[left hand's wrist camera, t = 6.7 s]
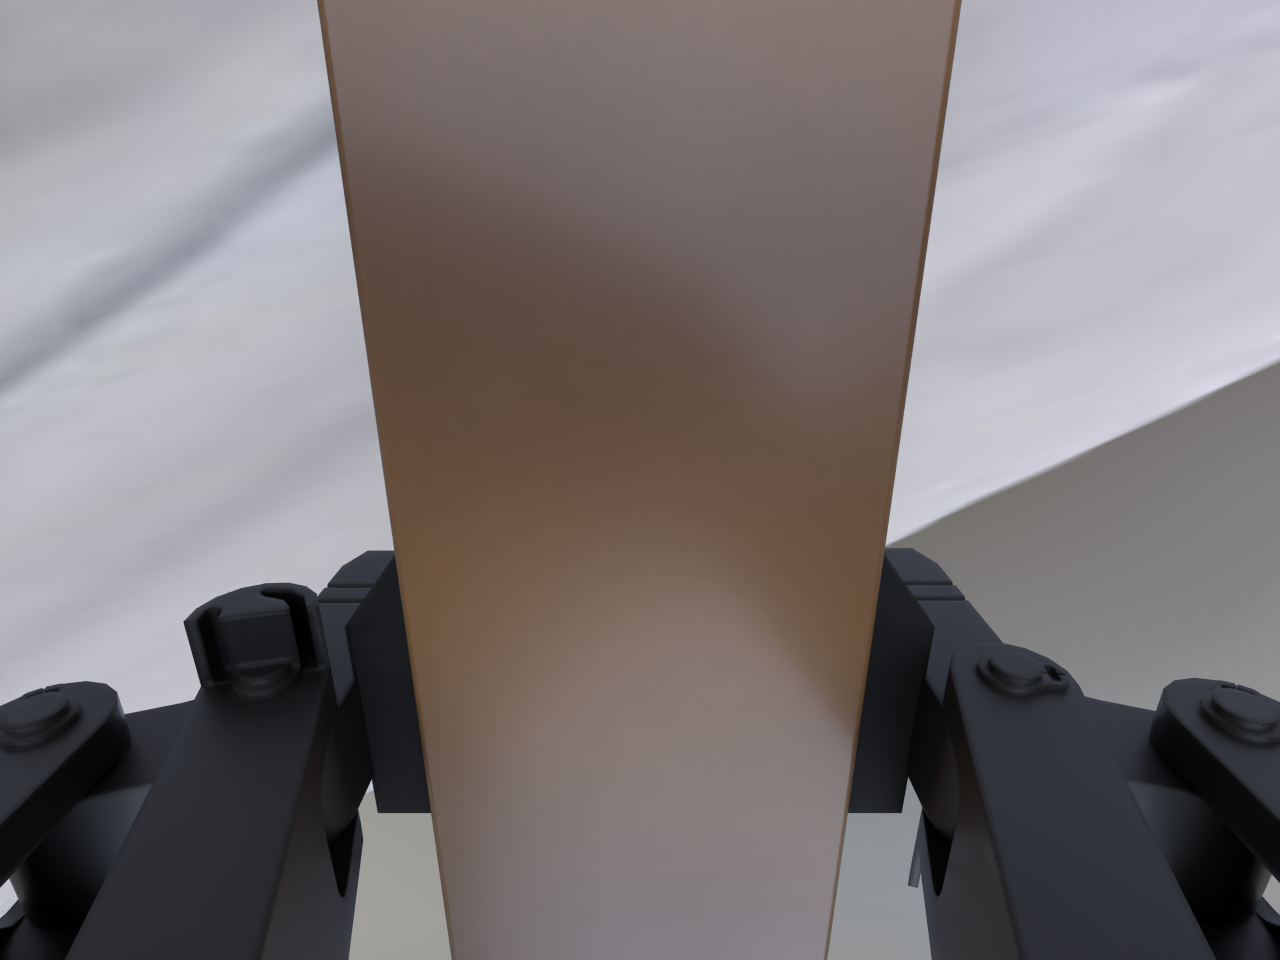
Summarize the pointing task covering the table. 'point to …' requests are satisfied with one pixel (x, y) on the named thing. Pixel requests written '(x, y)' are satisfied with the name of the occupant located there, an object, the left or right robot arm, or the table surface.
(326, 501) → the table surface
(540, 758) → the post
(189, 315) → the table surface
